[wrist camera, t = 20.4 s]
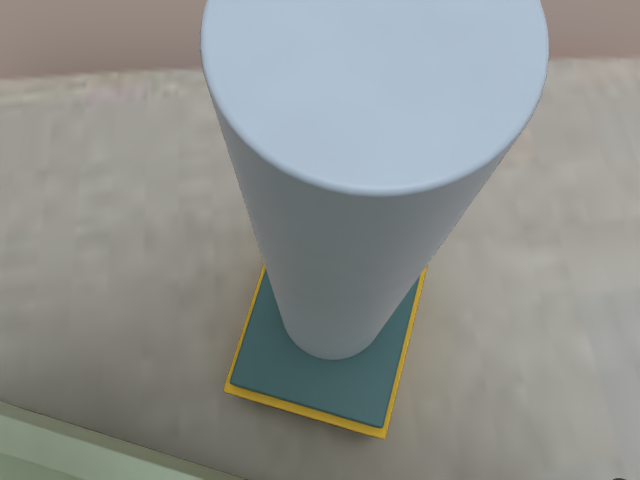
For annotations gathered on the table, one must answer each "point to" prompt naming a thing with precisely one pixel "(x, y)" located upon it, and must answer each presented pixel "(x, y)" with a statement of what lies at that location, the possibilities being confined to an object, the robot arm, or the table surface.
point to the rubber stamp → (358, 174)
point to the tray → (82, 453)
